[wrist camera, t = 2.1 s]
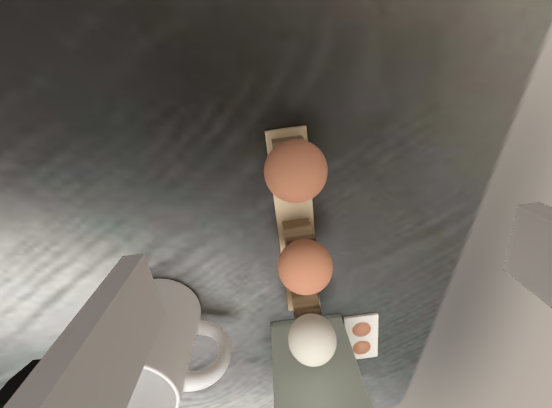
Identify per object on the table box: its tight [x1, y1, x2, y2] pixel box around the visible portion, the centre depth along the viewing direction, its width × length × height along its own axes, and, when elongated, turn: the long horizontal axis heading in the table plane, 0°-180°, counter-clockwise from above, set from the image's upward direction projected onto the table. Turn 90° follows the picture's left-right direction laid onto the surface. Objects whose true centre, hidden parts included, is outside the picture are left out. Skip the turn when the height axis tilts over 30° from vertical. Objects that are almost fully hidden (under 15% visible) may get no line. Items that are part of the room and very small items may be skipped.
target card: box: [344, 312, 378, 359], centre depth 36 cm, size 7×4×1 cm, turn 7°
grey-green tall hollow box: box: [271, 313, 373, 408], centre depth 30 cm, size 8×8×12 cm
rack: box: [265, 125, 321, 320], centre depth 27 cm, size 20×4×4 cm, turn 7°
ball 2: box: [278, 239, 333, 295], centre depth 23 cm, size 4×4×4 cm
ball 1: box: [264, 139, 328, 203], centre depth 20 cm, size 4×4×4 cm
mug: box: [127, 279, 231, 408], centre depth 28 cm, size 12×8×10 cm
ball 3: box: [288, 313, 337, 367], centre depth 27 cm, size 4×4×4 cm
